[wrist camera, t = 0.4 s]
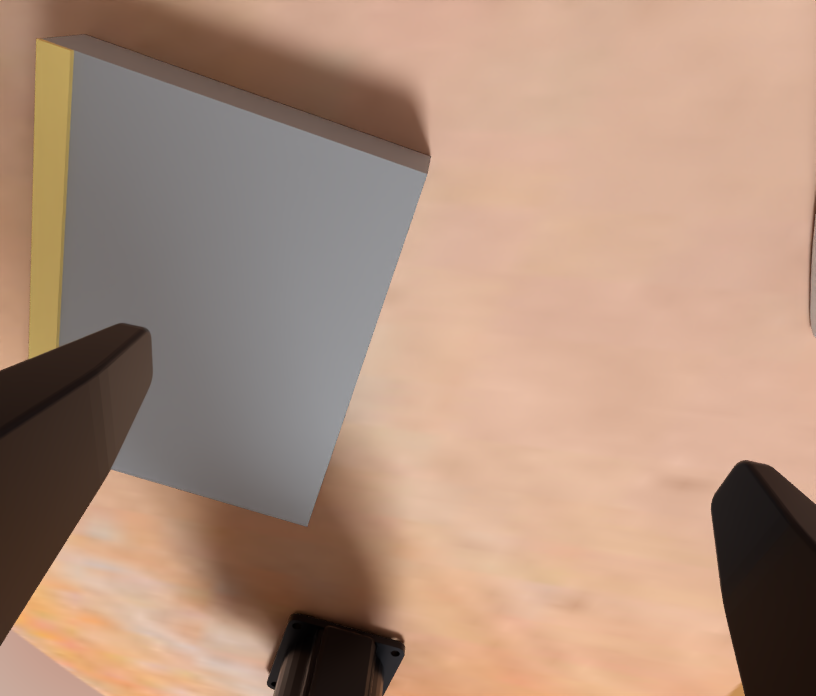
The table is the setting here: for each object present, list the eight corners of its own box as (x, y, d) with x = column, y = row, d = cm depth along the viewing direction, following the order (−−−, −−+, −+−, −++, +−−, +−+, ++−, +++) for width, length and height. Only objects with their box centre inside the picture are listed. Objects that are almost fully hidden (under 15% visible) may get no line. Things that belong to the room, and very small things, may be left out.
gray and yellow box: (318, 487, 29) (306, 530, 27) (62, 411, 28) (26, 448, 26) (430, 156, 22) (427, 175, 19) (85, 34, 21) (36, 38, 18)
